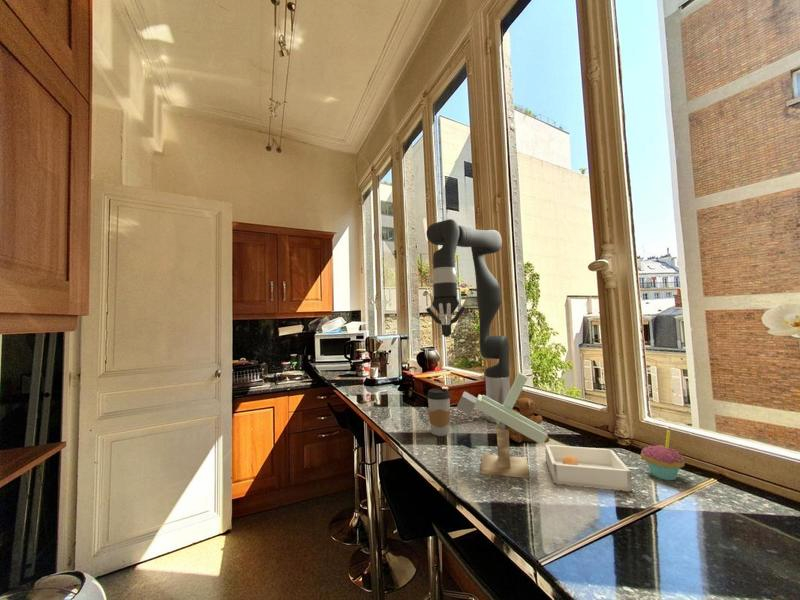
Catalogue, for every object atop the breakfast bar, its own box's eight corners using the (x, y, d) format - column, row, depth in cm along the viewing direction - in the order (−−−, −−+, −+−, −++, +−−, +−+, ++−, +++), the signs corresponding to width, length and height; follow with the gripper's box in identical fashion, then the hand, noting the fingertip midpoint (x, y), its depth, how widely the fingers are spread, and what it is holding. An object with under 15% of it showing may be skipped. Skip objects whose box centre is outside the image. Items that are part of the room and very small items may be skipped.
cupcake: (676, 470, 84) (672, 422, 84) (693, 486, 76) (689, 433, 76) (637, 466, 87) (633, 420, 87) (649, 481, 78) (645, 430, 79)
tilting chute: (456, 408, 89) (480, 357, 88) (459, 399, 98) (482, 353, 97) (538, 455, 83) (566, 401, 81) (534, 441, 92) (559, 392, 91)
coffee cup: (451, 429, 120) (449, 388, 121) (452, 437, 112) (450, 393, 113) (428, 429, 121) (427, 388, 122) (428, 437, 113) (426, 393, 114)
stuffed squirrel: (552, 441, 106) (549, 400, 107) (515, 447, 101) (513, 404, 102) (530, 431, 115) (528, 393, 116) (496, 437, 111) (494, 398, 112)
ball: (560, 456, 87) (575, 456, 86) (564, 472, 85) (579, 471, 84) (561, 454, 84) (576, 453, 83) (565, 470, 82) (580, 469, 81)
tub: (553, 483, 79) (552, 464, 79) (546, 460, 91) (545, 444, 92) (632, 491, 74) (630, 471, 75) (612, 466, 87) (611, 449, 87)
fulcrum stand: (480, 473, 85) (478, 430, 86) (482, 457, 95) (480, 419, 96) (529, 478, 82) (527, 433, 83) (526, 461, 92) (524, 421, 92)
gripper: (422, 282, 103) (424, 337, 102) (464, 280, 99) (466, 337, 98) (427, 285, 110) (428, 336, 109) (466, 282, 106) (469, 335, 105)
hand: (446, 336), depth 104 cm, fingers closed
